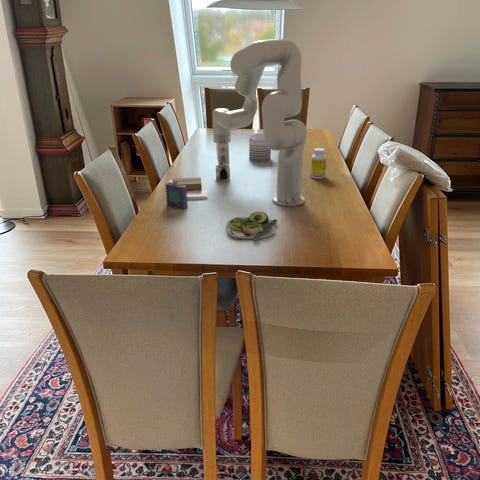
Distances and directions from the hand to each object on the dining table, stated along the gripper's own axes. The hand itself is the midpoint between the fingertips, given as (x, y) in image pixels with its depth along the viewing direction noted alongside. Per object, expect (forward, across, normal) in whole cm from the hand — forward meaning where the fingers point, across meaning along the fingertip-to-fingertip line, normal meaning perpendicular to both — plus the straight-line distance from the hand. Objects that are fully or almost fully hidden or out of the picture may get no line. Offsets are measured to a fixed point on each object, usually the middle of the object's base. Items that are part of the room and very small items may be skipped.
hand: (222, 175), depth 209 cm
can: (+2, +29, -21) cm, 36 cm away
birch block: (+2, 0, 0) cm, 2 cm away
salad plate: (+2, -55, -6) cm, 55 cm away
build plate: (+2, -13, +16) cm, 21 cm away
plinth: (0, -13, +16) cm, 21 cm away
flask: (+2, -31, +20) cm, 37 cm away
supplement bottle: (+2, -2, -43) cm, 43 cm away
